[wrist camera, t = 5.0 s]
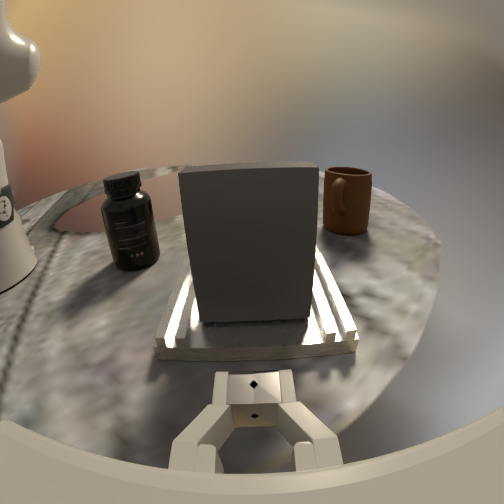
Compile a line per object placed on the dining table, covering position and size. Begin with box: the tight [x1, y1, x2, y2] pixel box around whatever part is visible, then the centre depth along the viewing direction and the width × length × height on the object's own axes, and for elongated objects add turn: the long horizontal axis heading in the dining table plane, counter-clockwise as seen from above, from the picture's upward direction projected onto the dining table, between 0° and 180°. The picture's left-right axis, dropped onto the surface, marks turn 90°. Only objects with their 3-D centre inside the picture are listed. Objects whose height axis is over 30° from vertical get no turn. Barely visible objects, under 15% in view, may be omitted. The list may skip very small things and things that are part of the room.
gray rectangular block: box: [178, 162, 319, 322], centre depth 23 cm, size 9×6×12 cm
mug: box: [323, 167, 372, 235], centre depth 41 cm, size 12×8×9 cm, turn 150°
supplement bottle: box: [101, 171, 160, 271], centre depth 35 cm, size 7×7×12 cm
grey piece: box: [153, 246, 359, 361], centre depth 28 cm, size 16×20×8 cm
